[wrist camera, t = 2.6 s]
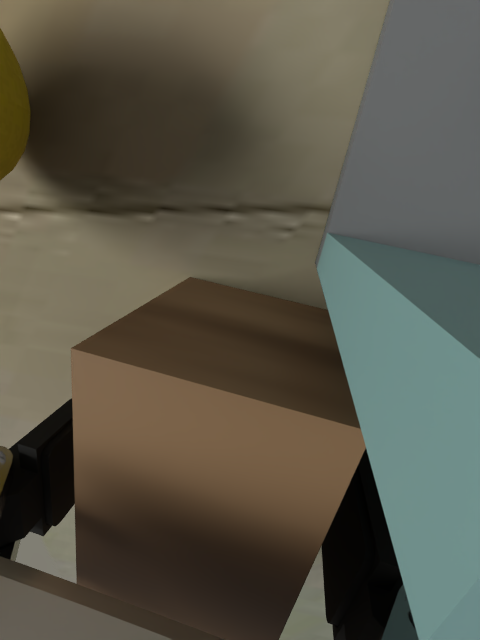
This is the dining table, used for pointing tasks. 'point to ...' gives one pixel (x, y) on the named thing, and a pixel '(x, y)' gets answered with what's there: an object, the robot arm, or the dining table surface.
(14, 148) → the lemon
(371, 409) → the peg frame
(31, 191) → the dining table surface
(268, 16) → the dining table surface
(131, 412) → the brown wooden block
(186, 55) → the dining table surface
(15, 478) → the robot arm
